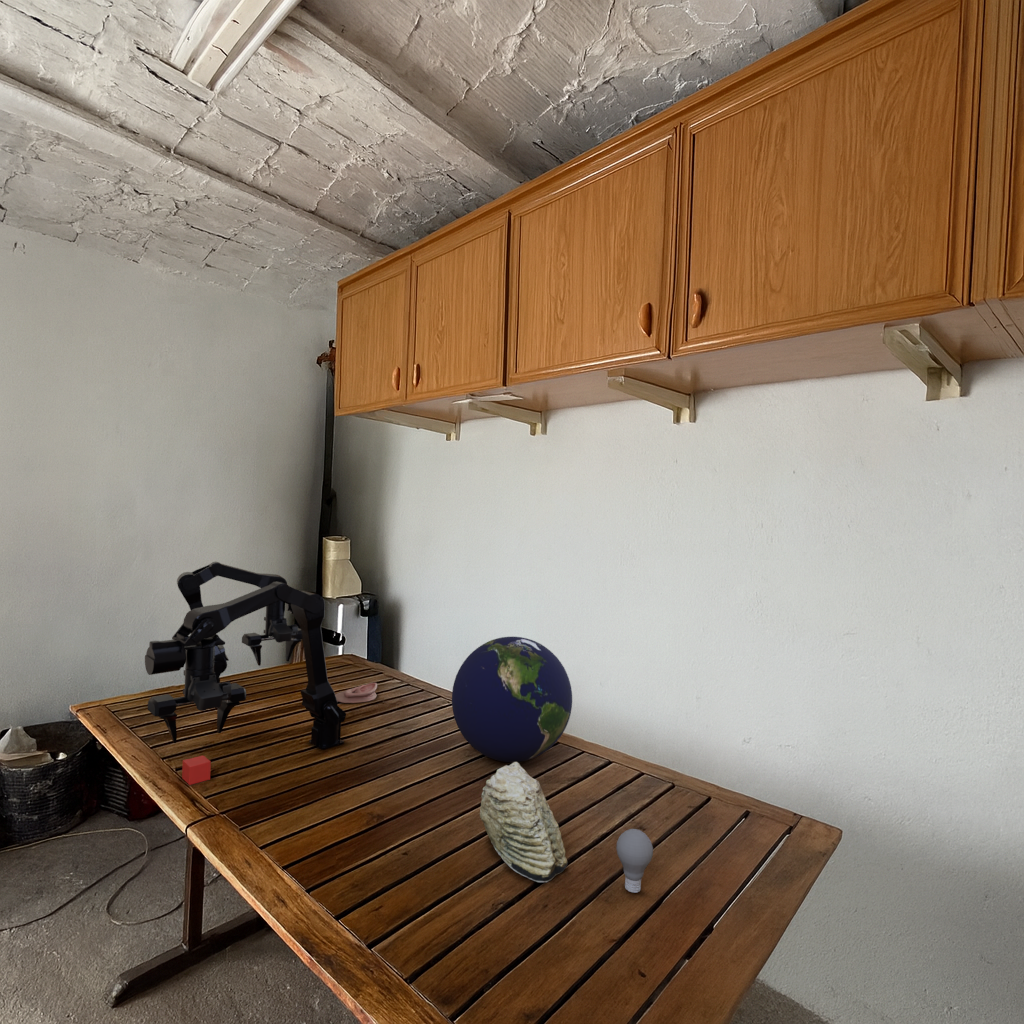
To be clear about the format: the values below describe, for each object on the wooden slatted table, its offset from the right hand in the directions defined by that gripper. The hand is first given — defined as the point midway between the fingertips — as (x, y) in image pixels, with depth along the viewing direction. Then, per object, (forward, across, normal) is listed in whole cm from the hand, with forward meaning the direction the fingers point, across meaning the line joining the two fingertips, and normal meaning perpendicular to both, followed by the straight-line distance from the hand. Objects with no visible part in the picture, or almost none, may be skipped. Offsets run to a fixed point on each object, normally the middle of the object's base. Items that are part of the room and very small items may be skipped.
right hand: (197, 737), depth 139 cm
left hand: (0, +39, +50) cm, 64 cm away
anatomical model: (+9, +56, +29) cm, 64 cm away
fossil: (+9, +34, -67) cm, 76 cm away
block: (+9, 0, 0) cm, 9 cm away
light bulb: (+9, +41, -87) cm, 96 cm away
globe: (+9, +62, -35) cm, 72 cm away
